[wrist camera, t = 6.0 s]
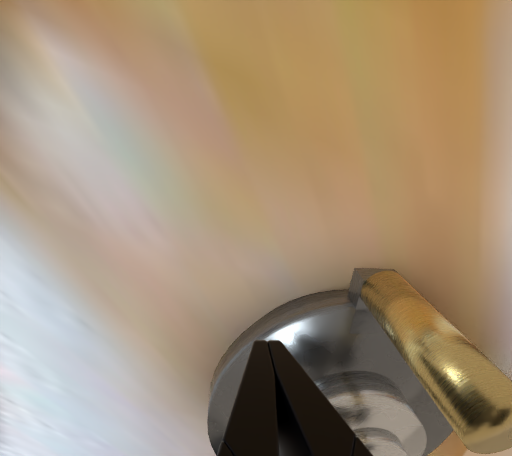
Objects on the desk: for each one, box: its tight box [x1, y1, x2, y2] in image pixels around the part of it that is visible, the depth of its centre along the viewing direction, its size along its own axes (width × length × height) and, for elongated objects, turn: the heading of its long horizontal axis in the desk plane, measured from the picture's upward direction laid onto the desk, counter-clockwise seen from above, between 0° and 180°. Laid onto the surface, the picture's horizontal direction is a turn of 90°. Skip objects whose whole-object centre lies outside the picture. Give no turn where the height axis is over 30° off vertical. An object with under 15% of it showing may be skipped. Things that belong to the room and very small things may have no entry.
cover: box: [314, 371, 427, 456], centre depth 14 cm, size 7×7×3 cm
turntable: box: [208, 268, 512, 456], centre depth 13 cm, size 17×15×8 cm
